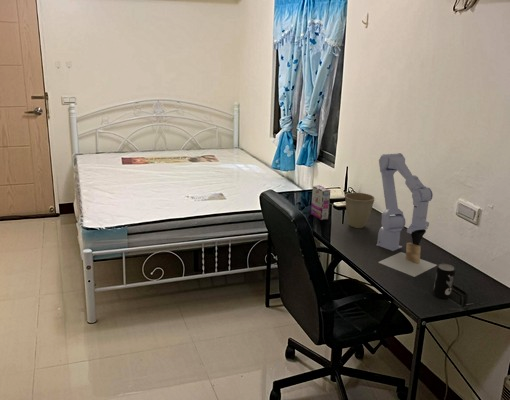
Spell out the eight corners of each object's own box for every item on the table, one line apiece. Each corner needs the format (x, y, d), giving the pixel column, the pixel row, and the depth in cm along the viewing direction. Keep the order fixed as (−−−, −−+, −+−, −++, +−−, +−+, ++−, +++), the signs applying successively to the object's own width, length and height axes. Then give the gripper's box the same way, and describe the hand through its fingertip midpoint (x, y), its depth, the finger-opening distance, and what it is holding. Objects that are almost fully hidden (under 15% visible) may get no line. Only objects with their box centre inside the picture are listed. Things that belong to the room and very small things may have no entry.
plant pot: (374, 231, 254) (377, 201, 249) (345, 230, 254) (347, 200, 250) (368, 221, 268) (371, 192, 264) (340, 220, 269) (343, 191, 264)
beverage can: (439, 300, 186) (444, 271, 183) (429, 292, 192) (433, 264, 189) (454, 298, 188) (459, 269, 184) (444, 290, 194) (448, 262, 190)
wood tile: (405, 259, 220) (406, 243, 217) (407, 258, 221) (408, 241, 218) (417, 264, 216) (418, 247, 213) (419, 262, 217) (421, 246, 214)
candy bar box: (328, 219, 270) (331, 190, 265) (321, 220, 268) (323, 191, 263) (318, 212, 279) (319, 184, 274) (310, 214, 277) (312, 185, 272)
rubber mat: (377, 263, 217) (377, 262, 217) (401, 252, 228) (401, 251, 228) (414, 277, 204) (414, 276, 204) (437, 266, 215) (437, 265, 215)
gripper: (418, 221, 205) (414, 252, 209) (437, 214, 215) (432, 243, 219) (403, 217, 210) (400, 247, 214) (422, 210, 220) (418, 239, 224)
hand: (415, 245), depth 217 cm, fingers closed
